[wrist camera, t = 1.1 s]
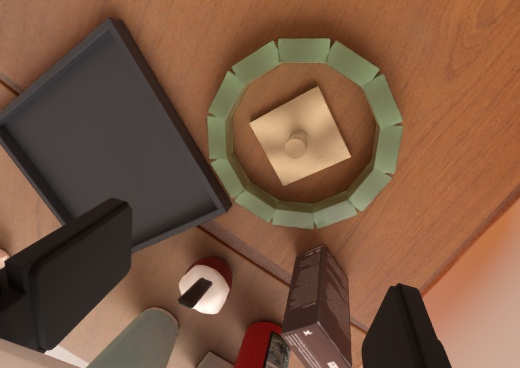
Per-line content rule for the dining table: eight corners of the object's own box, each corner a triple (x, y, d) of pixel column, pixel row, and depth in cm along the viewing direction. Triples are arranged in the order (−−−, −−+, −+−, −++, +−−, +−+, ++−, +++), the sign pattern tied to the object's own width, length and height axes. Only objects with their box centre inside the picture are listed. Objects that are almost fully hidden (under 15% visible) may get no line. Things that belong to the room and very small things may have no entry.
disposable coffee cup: (179, 294, 45) (113, 395, 31) (201, 349, 48) (149, 461, 34) (121, 297, 48) (37, 390, 34) (145, 348, 51) (77, 451, 37)
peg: (250, 121, 33) (238, 130, 29) (318, 85, 30) (315, 88, 26) (284, 184, 35) (277, 200, 30) (351, 154, 32) (353, 168, 28)
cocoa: (215, 298, 43) (175, 376, 32) (182, 270, 43) (131, 340, 32) (256, 262, 39) (228, 337, 29) (221, 231, 39) (177, 295, 28)
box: (293, 257, 38) (277, 334, 27) (324, 243, 36) (321, 320, 25) (318, 292, 39) (312, 381, 28) (349, 280, 37) (357, 370, 26)
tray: (1, 121, 40) (-16, 124, 38) (121, 19, 32) (108, 16, 30) (105, 261, 46) (95, 269, 44) (232, 205, 37) (227, 212, 35)
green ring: (185, 100, 34) (174, 103, 31) (348, -3, 27) (349, -10, 24) (265, 238, 38) (261, 249, 35) (423, 179, 31) (431, 188, 29)
